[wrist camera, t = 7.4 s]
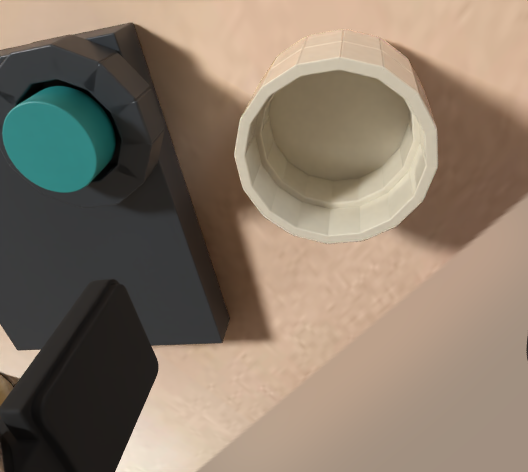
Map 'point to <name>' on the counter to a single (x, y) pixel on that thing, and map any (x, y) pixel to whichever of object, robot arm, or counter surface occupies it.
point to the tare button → (59, 139)
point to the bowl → (337, 139)
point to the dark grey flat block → (103, 205)
